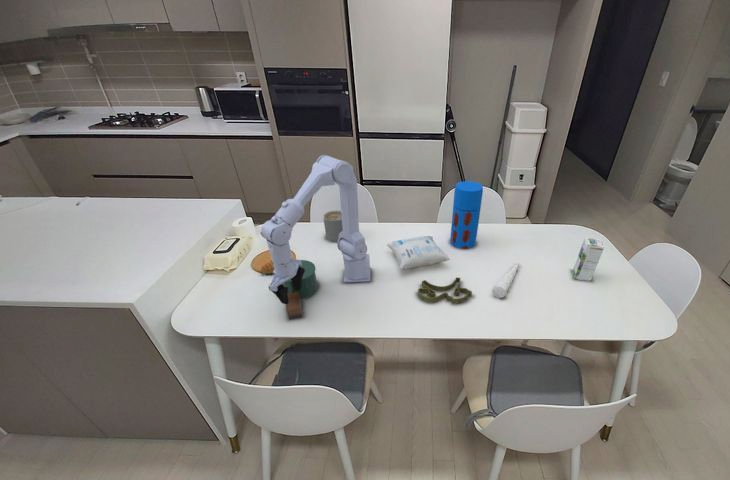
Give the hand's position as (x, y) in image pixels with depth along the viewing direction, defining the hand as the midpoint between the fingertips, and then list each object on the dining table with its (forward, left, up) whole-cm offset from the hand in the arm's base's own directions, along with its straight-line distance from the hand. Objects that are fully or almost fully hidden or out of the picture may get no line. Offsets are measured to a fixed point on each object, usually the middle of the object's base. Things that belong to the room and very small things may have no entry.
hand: (291, 295), depth 111 cm
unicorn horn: (-74, -9, -6) cm, 75 cm away
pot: (0, -11, -6) cm, 13 cm away
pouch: (-43, -26, -6) cm, 51 cm away
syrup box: (-103, -10, -6) cm, 104 cm away
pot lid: (0, -11, +2) cm, 11 cm away
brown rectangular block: (0, 0, -6) cm, 6 cm away
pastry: (+11, -24, -6) cm, 27 cm away
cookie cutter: (-50, -4, -6) cm, 51 cm away
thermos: (-64, -38, -6) cm, 75 cm away
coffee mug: (-12, -48, -6) cm, 50 cm away
